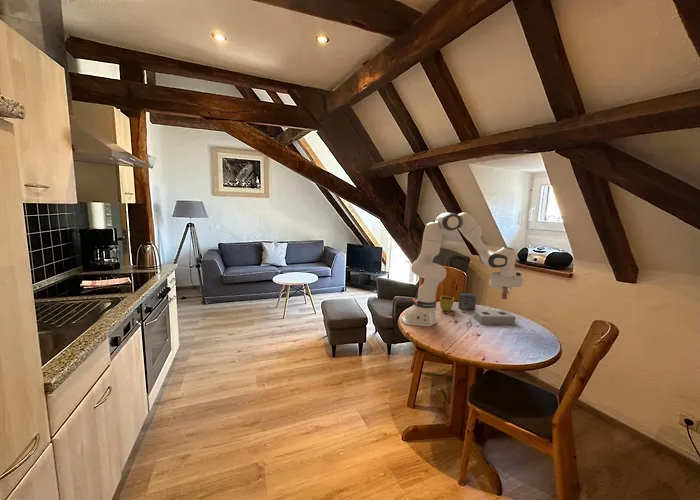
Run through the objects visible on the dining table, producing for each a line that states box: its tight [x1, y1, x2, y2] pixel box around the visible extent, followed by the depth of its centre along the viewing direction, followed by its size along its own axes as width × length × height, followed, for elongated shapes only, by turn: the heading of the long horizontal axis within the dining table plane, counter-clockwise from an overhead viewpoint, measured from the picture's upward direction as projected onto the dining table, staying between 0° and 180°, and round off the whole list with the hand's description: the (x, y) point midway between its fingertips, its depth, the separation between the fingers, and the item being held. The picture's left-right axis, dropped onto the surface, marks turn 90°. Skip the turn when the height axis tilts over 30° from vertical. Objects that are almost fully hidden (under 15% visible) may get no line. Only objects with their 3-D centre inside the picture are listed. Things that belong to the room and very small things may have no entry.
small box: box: [458, 292, 477, 311], centre depth 227 cm, size 11×6×10 cm, turn 84°
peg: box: [501, 287, 509, 300], centre depth 202 cm, size 3×3×10 cm
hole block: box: [473, 309, 516, 325], centre depth 205 cm, size 22×11×5 cm, turn 91°
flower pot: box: [439, 295, 455, 312], centre depth 223 cm, size 9×9×9 cm
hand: (504, 293), depth 203 cm, fingers closed on peg, 3 cm apart
